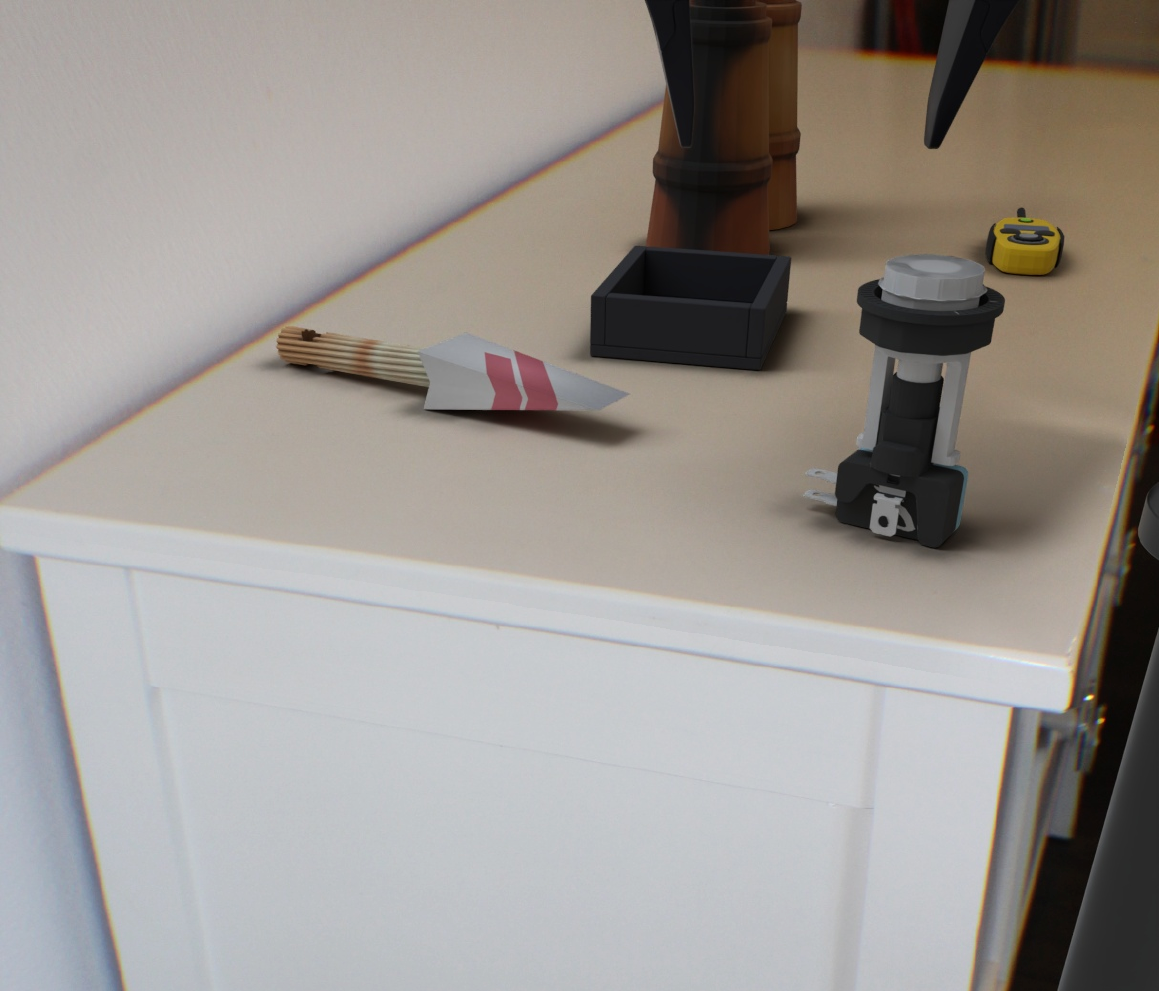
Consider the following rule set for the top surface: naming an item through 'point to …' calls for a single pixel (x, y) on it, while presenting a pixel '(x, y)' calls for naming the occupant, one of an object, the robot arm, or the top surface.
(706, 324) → the black hollow square tray
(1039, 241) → the yellow walkie talkie
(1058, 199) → the top surface
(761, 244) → the binoculars
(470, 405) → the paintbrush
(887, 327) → the push button
